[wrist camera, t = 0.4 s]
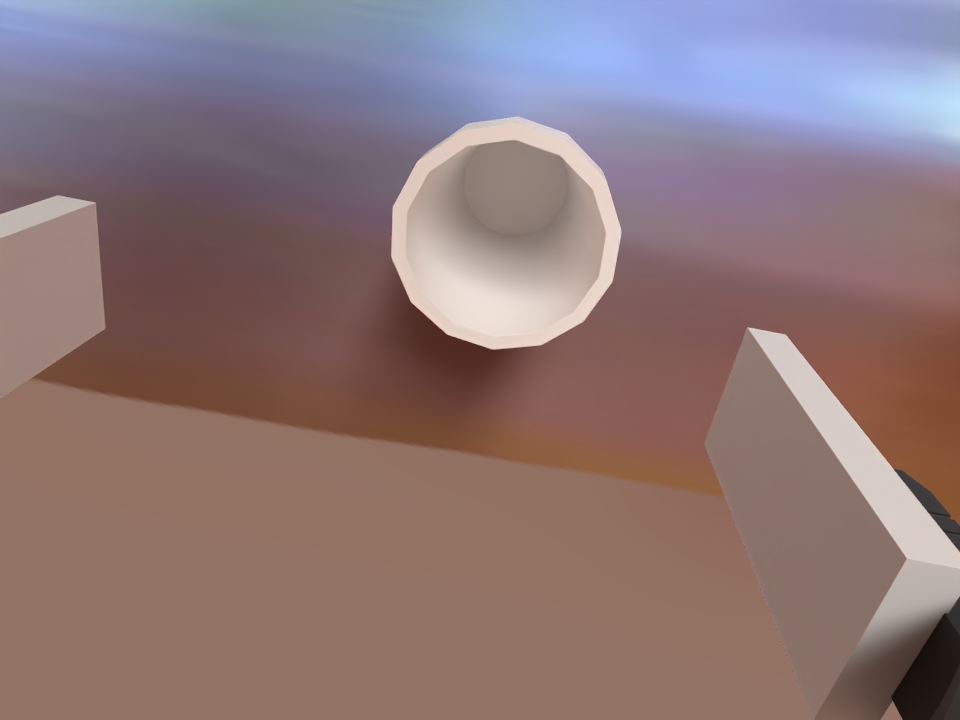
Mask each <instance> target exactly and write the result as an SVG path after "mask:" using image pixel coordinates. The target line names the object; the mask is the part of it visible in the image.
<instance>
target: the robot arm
mask: <svg viewBox="0 0 960 720" xmlns="http://www.w3.org/2000/svg"><path fill="white" fill-rule="evenodd" d="M104 329H105V317H104V304H103V291H102V278H101V265H100V252H99V239H98V225H97V212H96V203H95V202H90V201H84V200H79V199H74V198H69V197H64V196H55V197H52V198H48V199H45V200H42V201H39V202H36V203H33V204H30V205H27V206H24V207H21V208H18V209H15V210H12V211H9V212H6V213H3V214H0V399H1V398H2V397H4V396H5V395H6V394H8V393H10V392H11V391H13V390H14V389H15V388H17V387H19V386H20V385H22V384H23V383H25V382H26V381H28V380H29V379H31V378H32V377H34V376H35V375H37V374H38V373H40V372H41V371H43V370H44V369H46V368H47V367H49V366H50V365H52V364H53V363H55V362H56V361H58V360H59V359H61V358H62V357H64V356H65V355H67V354H68V353H70V352H71V351H73V350H74V349H76V348H77V347H79V346H80V345H82V344H83V343H85V342H86V341H88V340H89V339H91V338H92V337H93V336H95V335H96V334H98V333H99V332H101V331H102V330H104ZM704 445H705V447H706V450H707V452H708V455H709V457H710V460H711V463H712V465H713V468H714V470H715V473H716V476H717V478H718V481H719V483H720V486H721V488H722V491H723V494H724V496H725V499H726V501H727V504H728V506H729V509H730V512H731V514H732V516H733V519H734V522H735V524H736V527H737V530H738V532H739V535H740V537H741V540H742V542H743V545H744V548H745V550H746V553H747V555H748V558H749V560H750V563H751V566H752V568H753V570H754V573H755V576H756V578H757V581H758V583H759V586H760V589H761V591H762V594H763V596H764V599H765V602H766V604H767V607H768V609H769V612H770V614H771V617H772V619H773V622H774V625H775V627H776V630H777V632H778V635H779V637H780V640H781V643H782V645H783V648H784V651H785V653H786V656H787V658H788V661H789V663H790V666H791V668H792V671H793V674H794V676H795V679H796V681H797V684H798V687H799V689H800V692H801V694H802V697H803V699H804V702H805V705H806V707H807V709H808V712H809V715H810V717H811V720H880V719H881V718H882V716H883V714H884V713H885V711H886V710H887V708H888V707H889V705H890V704H891V702H892V701H893V702H894V704H895V706H896V708H897V709H898V711H899V714H900V715H901V717H902V719H903V720H960V526H959V525H958V524H957V523H956V521H955V520H951V519H950V516H951V515H950V514H949V513H948V512H947V511H946V510H945V508H944V507H943V506H942V505H941V504H940V502H939V501H938V500H937V499H936V498H935V496H934V495H933V494H932V493H931V492H930V491H928V490H927V489H926V488H924V487H923V486H922V485H920V484H919V483H918V482H916V481H915V480H914V479H912V478H911V477H910V476H908V475H907V474H906V473H905V472H903V471H902V470H897V469H893V468H892V467H891V466H890V464H889V463H888V462H887V461H886V459H885V458H884V457H883V456H882V454H881V453H880V452H879V451H878V449H877V448H876V447H875V446H874V444H873V443H872V442H871V441H870V439H869V438H868V437H867V436H866V435H865V433H864V432H863V431H862V430H861V428H860V427H859V426H858V425H857V423H856V422H855V421H854V420H853V418H852V417H851V416H850V415H849V413H848V412H847V411H846V410H845V408H844V407H843V406H842V405H841V403H840V402H839V401H838V400H837V398H836V397H835V396H834V395H833V393H832V392H831V391H830V390H829V388H828V387H827V386H826V385H825V383H824V382H823V381H822V380H821V378H820V377H819V376H818V375H817V373H816V372H815V371H814V370H813V368H812V367H811V366H810V365H809V363H808V362H807V361H806V360H805V358H804V357H803V356H802V355H801V353H800V352H799V351H798V350H797V348H796V347H795V346H794V345H793V343H792V342H791V341H790V340H789V338H788V337H787V336H786V335H784V334H779V333H774V332H769V331H763V330H758V329H753V328H748V327H747V330H746V333H745V335H744V338H743V341H742V343H741V346H740V349H739V351H738V354H737V357H736V359H735V362H734V365H733V367H732V370H731V373H730V375H729V378H728V381H727V384H726V386H725V389H724V392H723V394H722V397H721V400H720V402H719V405H718V408H717V410H716V413H715V416H714V418H713V421H712V424H711V426H710V429H709V432H708V434H707V437H706V440H705V443H704Z"/></svg>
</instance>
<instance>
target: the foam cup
mask: <svg viewBox="0 0 960 720" xmlns="http://www.w3.org/2000/svg"><path fill="white" fill-rule="evenodd" d="M621 232H622V231H621V228H620V225H619V221H618V218H617V215H616V211H615V208H614V204H613V201H612V198H611V194H610V191H609V188H608V184H607V181H606V179H605V176H604V174H603V172H602V170H601V169H600V168H599V167H598V166H597V165H596V164H595V162H594V161H593V160H592V159H591V158H590V157H589V156H588V155H587V154H586V153H585V152H584V151H583V150H582V149H581V148H580V147H579V146H578V145H577V144H576V143H575V141H574V140H573V139H572V138H571V137H570V136H569V135H568V134H567V133H564V132H561V131H558V130H555V129H552V128H550V127H547V126H544V125H541V124H538V123H535V122H532V121H530V120H527V119H524V118H521V117H512V118H505V119H498V120H490V121H483V122H476V123H469V124H467V125H465V126H464V127H462V128H461V129H459V130H458V131H457V132H455V133H454V134H452V135H451V136H449V137H448V138H446V139H445V140H444V141H442V142H441V143H439V144H438V145H436V146H435V147H434V148H432V149H431V150H429V151H428V152H426V153H425V154H424V155H423V156H422V157H421V158H420V159H419V160H418V161H417V163H416V165H415V167H414V169H413V171H412V172H411V174H410V176H409V178H408V180H407V182H406V184H405V185H404V187H403V189H402V191H401V193H400V195H399V197H398V198H397V200H396V202H395V204H394V206H393V219H392V252H391V258H392V260H393V262H394V264H395V267H396V269H397V271H398V274H399V276H400V278H401V280H402V283H403V285H404V287H405V290H406V292H407V294H408V296H409V299H410V301H411V303H413V304H414V305H415V306H416V307H417V308H418V309H419V310H420V311H421V312H423V313H424V314H425V315H426V316H427V317H428V318H429V319H430V320H432V321H433V322H434V323H435V324H436V325H437V326H438V327H439V328H440V329H442V330H443V331H444V332H445V333H446V334H447V335H450V336H453V337H456V338H459V339H462V340H465V341H468V342H471V343H474V344H477V345H481V346H484V347H487V348H490V349H493V350H494V349H505V348H516V347H527V346H537V345H542V344H544V343H546V342H548V341H549V340H551V339H553V338H555V337H557V336H558V335H560V334H562V333H564V332H566V331H567V330H569V329H571V328H573V327H574V326H576V325H578V324H580V323H582V322H583V321H584V320H585V319H586V317H587V316H588V315H589V313H590V312H591V310H592V309H593V308H594V306H595V305H596V304H597V302H598V301H599V299H600V298H601V297H602V295H603V294H604V293H605V291H606V290H607V288H608V287H609V286H610V284H611V283H612V282H613V276H614V271H615V265H616V260H617V254H618V248H619V243H620V237H621Z"/></svg>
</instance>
